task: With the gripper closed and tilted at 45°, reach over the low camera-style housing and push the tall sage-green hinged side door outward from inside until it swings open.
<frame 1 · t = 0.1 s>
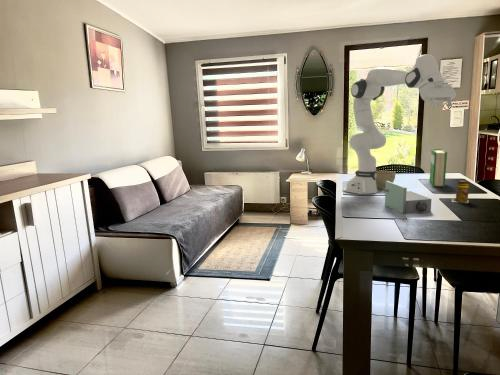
hand: (443, 106, 185), 54 cm above the table, tool tilted 30°, fingers open, 8 cm apart
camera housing: (407, 208, 204), on the table
planter bowl: (382, 188, 256), on the table
side door: (394, 196, 201), point 7 cm above the table, hinge at 0.0°
hardback book: (436, 184, 260), on the table
condiment: (459, 201, 214), on the table
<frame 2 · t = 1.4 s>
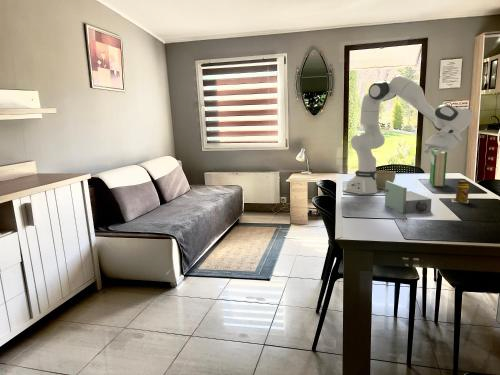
hand: (430, 153, 199), 30 cm above the table, tool tilted 45°, fingers open, 7 cm apart
nothing on the table moved.
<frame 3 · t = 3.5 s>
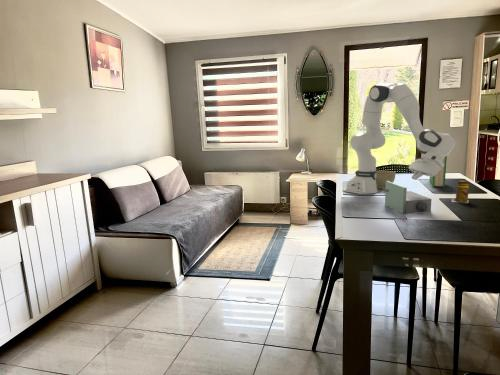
hand: (413, 178, 201), 16 cm above the table, tool tilted 45°, fingers closed
nothing on the table moved.
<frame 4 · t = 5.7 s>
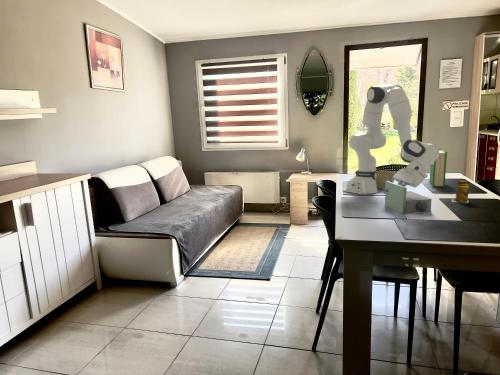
hand: (397, 188, 201), 11 cm above the table, tool tilted 45°, fingers closed, pressing on side door
side door: (394, 196, 201), point 7 cm above the table, hinge at 0.3°, touching gripper
everything else where it was.
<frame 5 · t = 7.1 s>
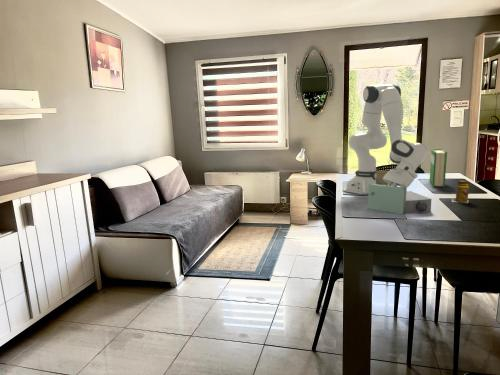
hand: (388, 190, 199), 11 cm above the table, tool tilted 45°, fingers closed
side door: (386, 198, 198), point 7 cm above the table, hinge at 40.5°, touching gripper
everything else where it was.
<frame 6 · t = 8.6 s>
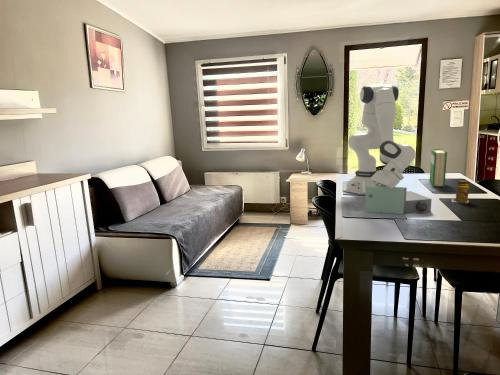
hand: (374, 190, 199), 11 cm above the table, tool tilted 45°, fingers closed
side door: (385, 200, 195), point 7 cm above the table, hinge at 58.8°, touching gripper
everything else where it was.
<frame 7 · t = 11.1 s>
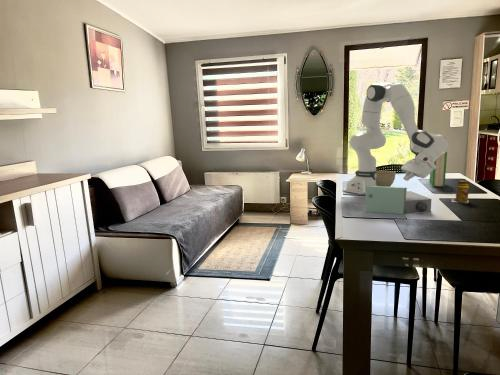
hand: (405, 179, 201), 16 cm above the table, tool tilted 45°, fingers closed
side door: (385, 200, 195), point 7 cm above the table, hinge at 58.9°
everything else where it was.
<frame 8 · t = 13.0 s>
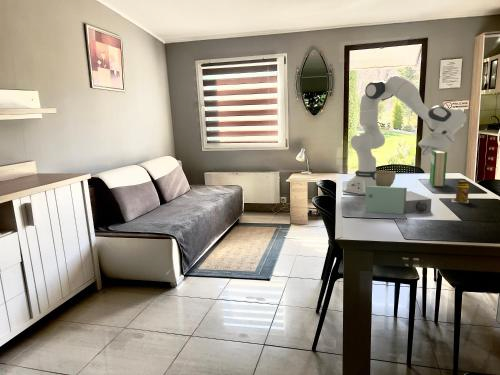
hand: (423, 154, 199), 29 cm above the table, tool tilted 45°, fingers closed
nothing on the table moved.
at the end: side door at +59° (first picture: +0°) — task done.
